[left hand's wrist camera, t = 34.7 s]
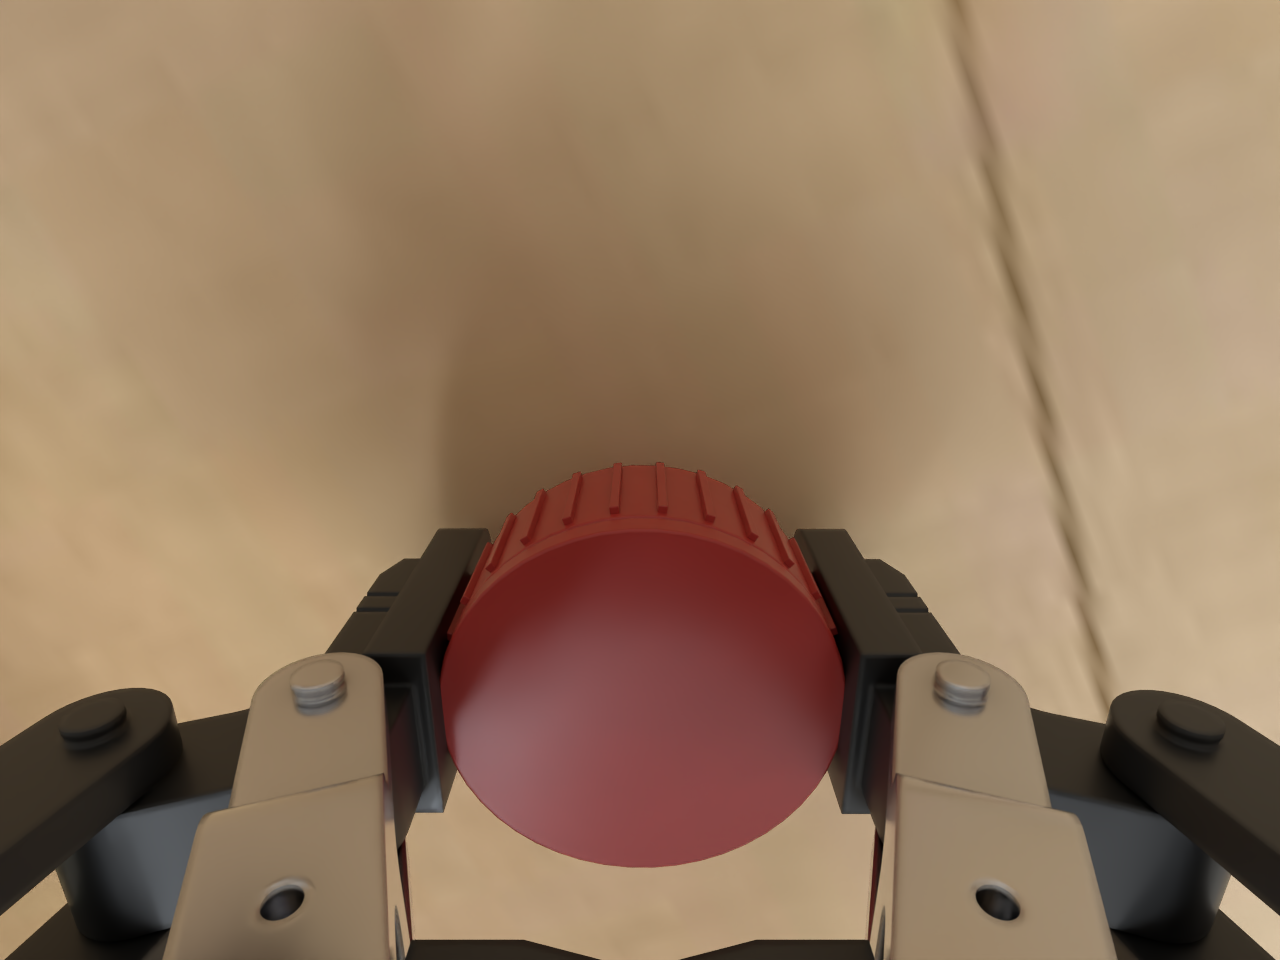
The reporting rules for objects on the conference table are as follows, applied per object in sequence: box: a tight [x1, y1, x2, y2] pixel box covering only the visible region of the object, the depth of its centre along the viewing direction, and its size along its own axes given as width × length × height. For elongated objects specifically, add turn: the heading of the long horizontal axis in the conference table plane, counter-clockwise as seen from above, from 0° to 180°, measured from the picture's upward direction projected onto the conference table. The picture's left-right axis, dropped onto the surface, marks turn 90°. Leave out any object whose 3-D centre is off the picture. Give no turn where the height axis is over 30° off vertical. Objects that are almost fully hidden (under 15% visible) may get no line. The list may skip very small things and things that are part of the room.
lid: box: [440, 462, 845, 867], centre depth 10 cm, size 5×5×2 cm
